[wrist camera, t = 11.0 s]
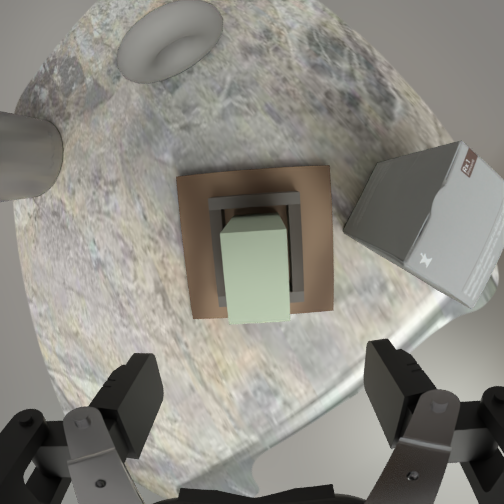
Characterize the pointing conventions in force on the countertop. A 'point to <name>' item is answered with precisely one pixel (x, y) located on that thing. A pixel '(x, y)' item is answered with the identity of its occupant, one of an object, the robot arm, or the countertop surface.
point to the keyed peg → (256, 268)
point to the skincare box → (435, 218)
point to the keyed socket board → (255, 202)
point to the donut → (169, 40)
